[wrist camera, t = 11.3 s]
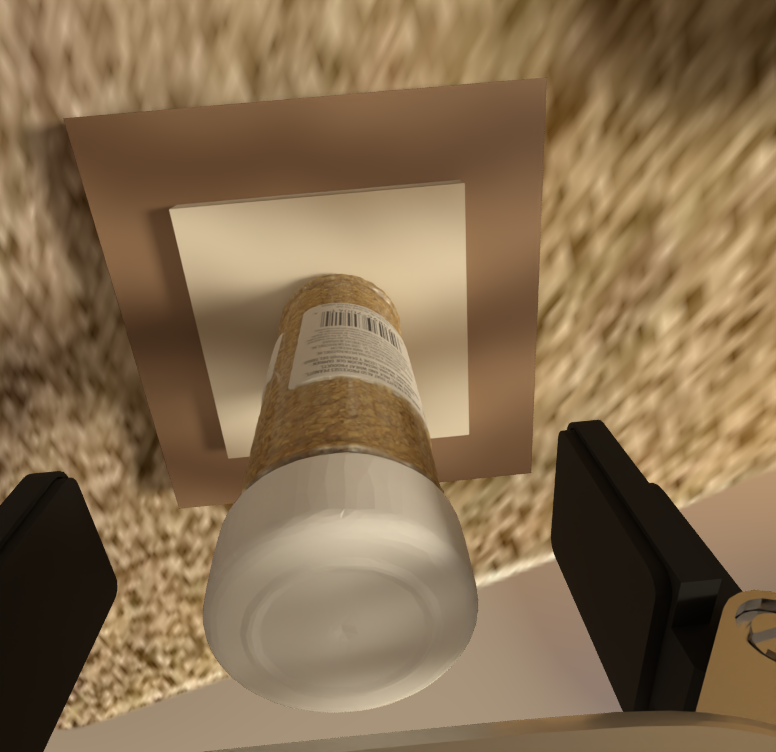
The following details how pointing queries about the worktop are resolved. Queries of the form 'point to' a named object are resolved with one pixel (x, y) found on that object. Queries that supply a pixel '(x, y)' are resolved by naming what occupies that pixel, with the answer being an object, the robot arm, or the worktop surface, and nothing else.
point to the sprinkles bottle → (340, 521)
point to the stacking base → (325, 256)
